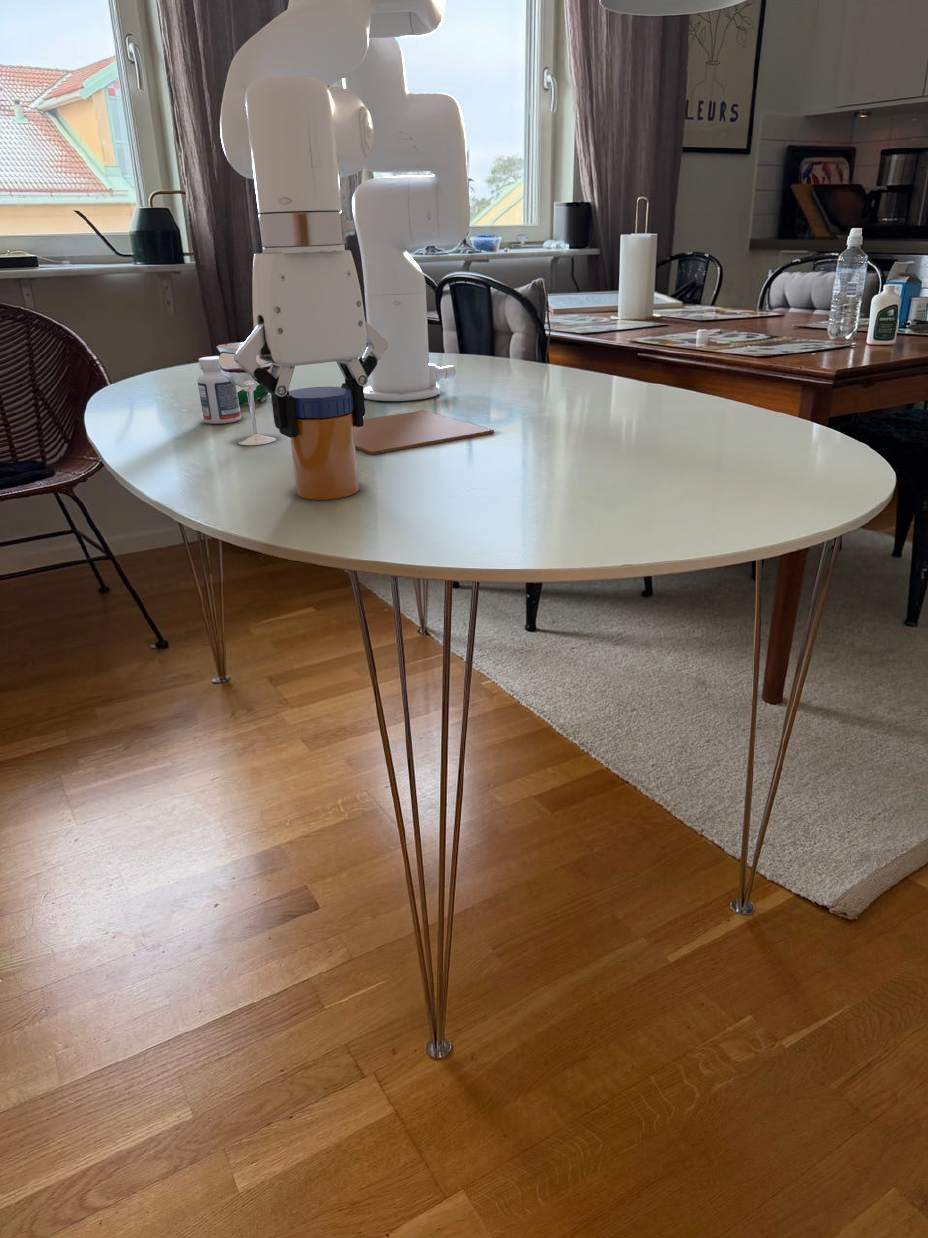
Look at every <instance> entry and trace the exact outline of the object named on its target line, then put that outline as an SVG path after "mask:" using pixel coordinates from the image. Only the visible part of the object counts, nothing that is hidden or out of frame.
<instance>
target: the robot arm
mask: <svg viewBox="0 0 928 1238" xmlns="http://www.w3.org/2000/svg"><path fill="white" fill-rule="evenodd" d="M287 4H288V6H287V9H286V10H284V11H283V12H281V13H280V14H278V15H277V16H276V17H274V18H273V19H272V20H270V22H268V23H267V24H266V25H264V26H263V27H262V28H261V29H260V30H259V31H257V32H256V33H255V34H253V35H252V36H251V37H250V38H248V39H247V41H245V43H243V44H242V45H241V47H239V49H238V51H237V52H236V53H235V55H234V57H233V58H232V60H231V62H230V65H229V69H228V71H227V75H226V80H225V86H224V89H223V94H222V100H221V105H220V116H219V117H220V118H219V128H220V129H219V131H220V140H221V145H222V149H223V152H224V155H225V157H226V159H227V161H228V164H230V166H231V167H232V168H233V170H234V171H235V172H236V173H237V174H239V175H240V176H242V177H244V178H246V179H250V180H254V189H255V195H256V196H255V197H256V204H257V213H258V221H259V230H260V239H261V246H262V252H261V253H253V261H252V285H251V286H252V287H251V288H252V292H251V295H252V320H253V321H252V322H253V330H252V332H251V334H249V336H248V337H247V338H246V340H245V341H243V342H244V344H243V345H242V346H241V348H240V349H239V350H238V351H237V353H236V354H235V355H234V361H235V362H236V363H237V364H238V365H239V366H240V367H241V368H242V369H243V370H244V371H246V372H247V373H248V374H249V375H250V376H251V377H252V378H253V379H254V380H255V381H256V382H258V383H259V384H260V385H261V386H262V387H263V388H265V389H266V391H267V392H269V393H268V394H270V398H271V406H272V413H273V414H272V415H273V422H274V427H275V428H276V429H278V430H279V431H278V432H279V433H280V434H281V435H283V436H285V437H288V438H290V439H291V438H293V437H296V436H297V435H298V429H297V420H296V411H295V402H294V397H293V396H291V395H289V391H290V390H289V389H290V385H291V382H292V378H293V375H294V371H295V368H296V367H300V366H307V365H316V364H325V363H333V362H336V364H337V366H338V368H339V370H340V372H341V374H342V375H343V378H344V382H343V383H341V385H340V387H344V388H348V389H351V391H352V395H353V405H354V408H353V411H352V412H353V424H354V426H356V427H362V426H363V425H364V423H363V419H364V417H365V415H366V404H365V399H367V400H371V401H379V402H407V401H408V402H409V401H418V400H419V401H420V400H424V399H430V398H433V397H436V396H438V395H440V393H441V386H440V385H439V384H437V382H439V381H440V380H441V379H445V380H446V379H451V378H452V379H453V378H455V377H456V375H457V374H456V373H457V371H456V368H455V365H444V366H442V367H440V366H437V365H436V364H434V363H430V353H429V352H430V351H429V350H430V349H429V330H428V309H427V284H426V277H425V275H424V272H423V270H422V269H421V266H419V264H418V263H417V262H416V260H414V258H413V257H412V256H411V255H410V254H409V252H408V251H407V249H409V248H416V247H441V246H452V245H457V244H460V243H462V242H463V241H464V240H465V239H466V238H467V236H468V233H469V231H470V226H471V225H470V224H471V203H470V188H469V170H468V153H467V138H466V130H465V129H466V128H465V121H464V115H463V112H462V109H461V107H460V104H459V102H458V101H457V100H456V98H455V97H453V96H452V95H450V94H448V93H444V92H415V93H412V92H410V91H409V89H408V86H407V78H406V70H405V59H404V58H405V57H404V53H403V50H402V48H401V46H400V44H399V42H398V40H397V39H396V38H408V37H410V38H411V37H424V36H429V35H432V34H434V33H436V31H437V30H438V29H439V28H440V26H441V24H442V22H443V19H444V15H445V9H446V0H288V3H287ZM340 81H341V82H342V87H340V86H331V85H334V84H335V83H338V82H340ZM363 169H364V170H366V171H368V172H373V173H381V174H382V173H383V174H384V173H388V174H389V173H393V174H394V173H414V172H415V173H416V172H419V173H420V172H430V173H432V175H429V174H428V175H396V176H395V175H394V176H379V177H374V178H370V179H367V180H365V181H363V182H361V183H360V184H359V185H358V186H357V187H356V188H355V190H354V192H353V194H352V199H351V210H352V217H353V220H351V219H350V220H349V219H348V220H347V219H346V218H345V214H344V212H342V210H343V209H342V199H341V186H340V185H341V184H340V178H345V177H350V176H354V175H356V174H358V173H359V172H361V171H362V170H363ZM355 234H356V236H357V241H358V242H357V243H358V246H359V253H360V258H361V266H362V276H363V287H364V289H363V290H364V301H363V296H362V290H361V285H360V282H359V277H358V271H357V268H356V263H355V261H354V257H353V254H352V251H351V250H350V249H345V244H346V243H347V239H346V238H348V237H351V236H352V237H353V236H355ZM363 302H364V303H365V304H364V303H363ZM364 305H365V309H364ZM365 314H366V315H365ZM257 354H258V357H259V358H260V359H262V360H264V361H267V362H272V363H271V367H270V370H269V372H268V371H267V370H265V369H264V368H263V367H261V366H260V364H259V363H258V362H257V361H256V356H257ZM369 377H370V384H371V385H368V386H366V385H367V384H368V381H369Z"/></svg>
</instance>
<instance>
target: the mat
mask: <svg viewBox="0 0 928 1238" xmlns="http://www.w3.org/2000/svg"><path fill="white" fill-rule="evenodd" d="M363 423H364V425H363V426H362V427H356V426H354V436H355V448H356V450H359V451H361V452H363V453H367V454H369V455H379V454H384V453H389V452H390V453H391V452H396V451H402V450H406V449H412V448H417V447H424V446H430V445H434V444H440V443H447V442H451V441H457V440H463V439H467V438H474V437H480V436H485V435H490V434H491V435H492V434H494V433H495V429H492V428H489V427H484V426H481V425H477V424H474V423H469V422H467V421H463V420H459V419H455V418H453V417H448V416H445V415H441V414H437V413H434V412H430V411H427V410H423V409H422V410H415V411H409V412H402V413H396V414H390V415H384V416H377V417H372V418H370V417H369V418H363Z"/></svg>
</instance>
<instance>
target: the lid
mask: <svg viewBox="0 0 928 1238" xmlns="http://www.w3.org/2000/svg"><path fill="white" fill-rule="evenodd" d="M289 395H291V396H293V397H294V402H295V411H296V417H298V418H324V417H333V416H339V415H343V414H347V413H350V412H351V411H353V408H354V405H353V395H352V391H351V389H348V388H344V387H341V386H311V387H303V388H297V389H292V390H289Z"/></svg>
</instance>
